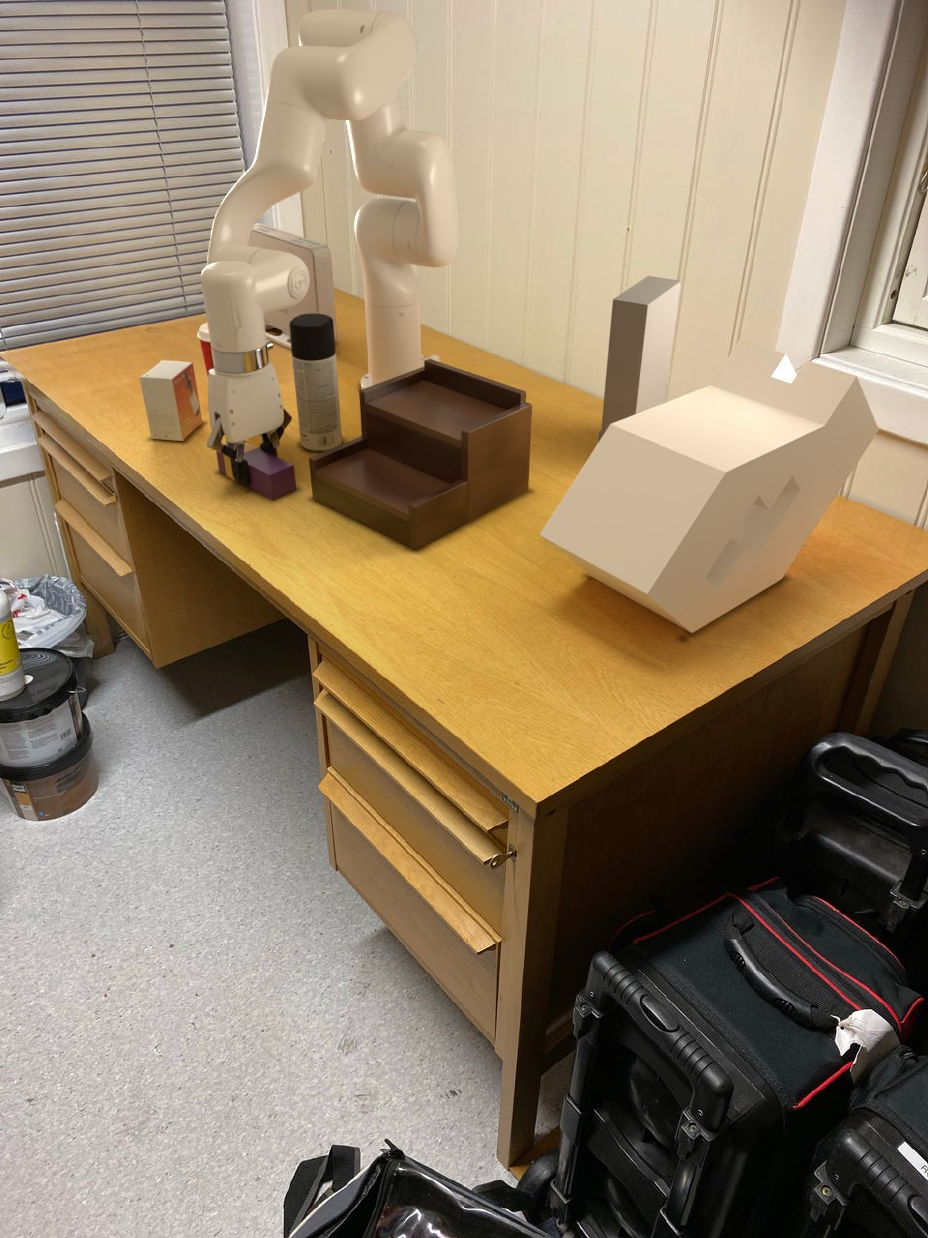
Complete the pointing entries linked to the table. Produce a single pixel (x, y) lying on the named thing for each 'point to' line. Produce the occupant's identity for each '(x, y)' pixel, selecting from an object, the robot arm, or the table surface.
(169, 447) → the table surface
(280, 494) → the purple banded block
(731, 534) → the cream angular block
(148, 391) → the small box
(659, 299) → the cassette tape recorder
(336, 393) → the spray can
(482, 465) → the step rack
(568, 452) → the table surface
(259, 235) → the network device
